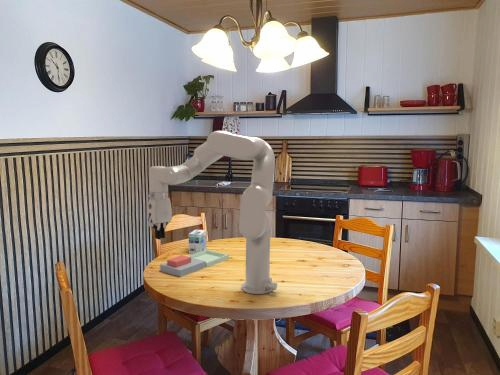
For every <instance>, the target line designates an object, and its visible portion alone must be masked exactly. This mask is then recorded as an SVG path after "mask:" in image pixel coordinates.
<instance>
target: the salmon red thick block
mask: <svg viewBox="0 0 500 375" xmlns="http://www.w3.org/2000/svg"><path fill="white" fill-rule="evenodd" d="M187 256H188V255H183V254H182V255H177V256H175V257H172V258H169V259H167V260H166V263H167V265H169V266H173V267H176V268H177V267H180V266H183V265H186V264H188V263H191V257H187Z"/></svg>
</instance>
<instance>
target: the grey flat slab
mask: <svg viewBox="0 0 500 375" xmlns="http://www.w3.org/2000/svg"><path fill="white" fill-rule="evenodd" d="M159 267H160V268H159V269H160V270H159V271H160V272H163V273H166V274H169V275H173V276H176V277H179V278H181V277H184V276H187V275H189V274H193V273H196V272H198V271H200V270H203V269H205V268H207V267H206V261H203V260H199V259H195V258H191V263H188V264H186V265H183V266H180V267H177V268H176V267H173V266H169V265H167V262H164V263H161V264H160V265H159Z"/></svg>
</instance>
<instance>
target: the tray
mask: <svg viewBox="0 0 500 375" xmlns="http://www.w3.org/2000/svg"><path fill="white" fill-rule="evenodd" d="M186 256H187V257H191V258H195V259H199V260H203V261H206V268H209V267H212V266H214V265H216V264H218V263H219V264H220V263H221V262H224V261H228V260H229V258H230V256H229V254H228V253H223V252H218V251H214V250H209V249H207V250H204V251H201V252H198V253H195V254H190V255H186Z"/></svg>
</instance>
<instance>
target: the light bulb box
mask: <svg viewBox="0 0 500 375" xmlns="http://www.w3.org/2000/svg"><path fill="white" fill-rule="evenodd" d="M207 233H208V231H207V230H206V229H196V228H195V229H194V230H192V231H191V232H189V233H188V254H190V255H192V254H195V253H198V252H201V251H204V250H208V247H207V246H208V242H207V241H208V240H207V239H208V237H207V236H208V234H207Z"/></svg>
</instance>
